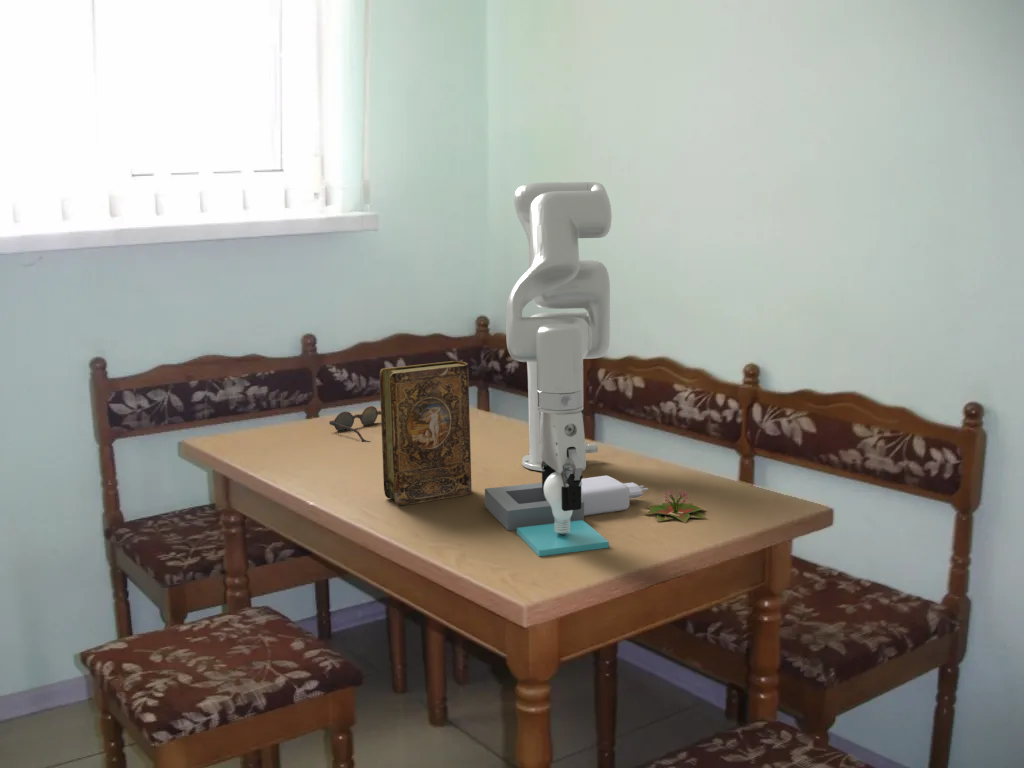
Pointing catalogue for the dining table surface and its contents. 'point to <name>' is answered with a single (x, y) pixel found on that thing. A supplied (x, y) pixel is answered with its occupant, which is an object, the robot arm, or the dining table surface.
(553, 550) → the plate
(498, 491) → the frame
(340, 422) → the eyeglasses
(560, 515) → the lightbulb
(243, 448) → the dining table surface
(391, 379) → the book
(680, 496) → the lily flower
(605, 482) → the charger
